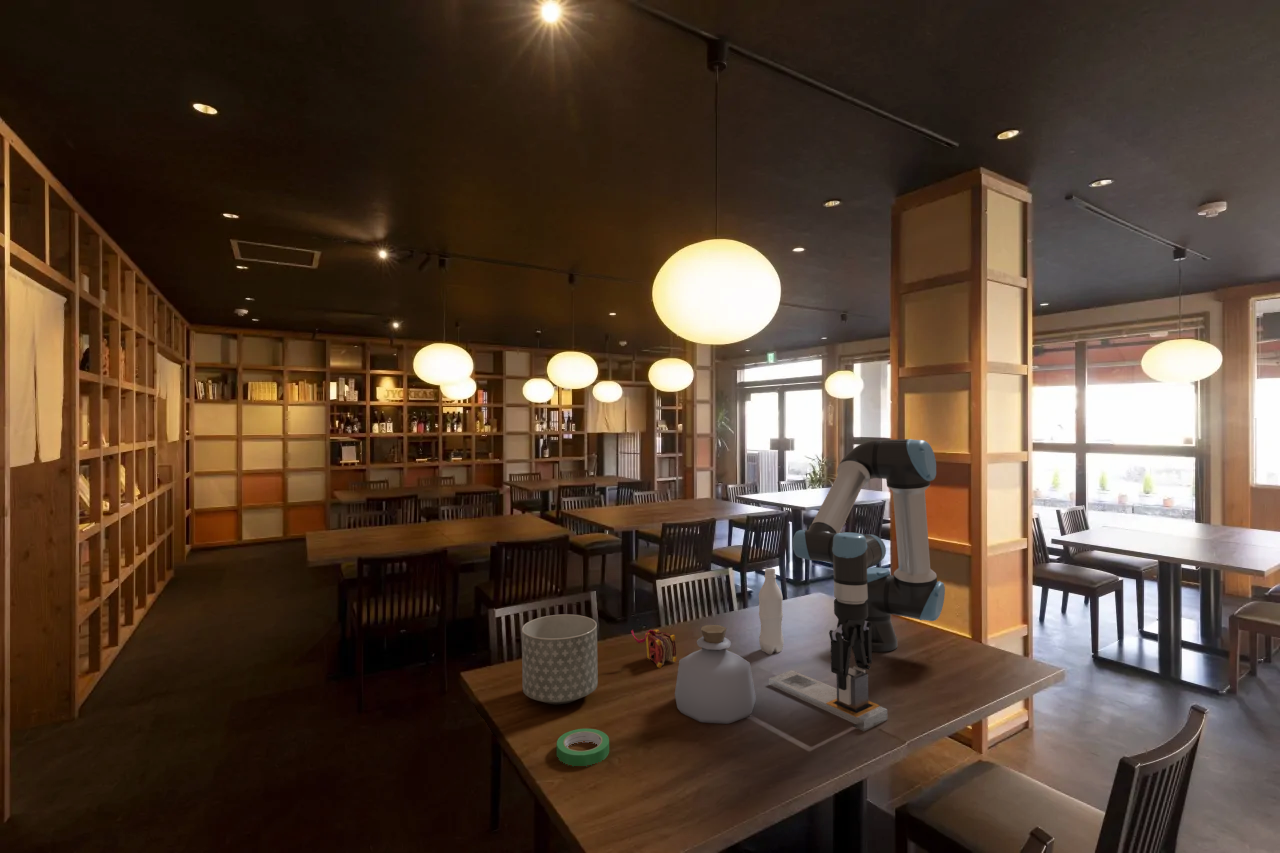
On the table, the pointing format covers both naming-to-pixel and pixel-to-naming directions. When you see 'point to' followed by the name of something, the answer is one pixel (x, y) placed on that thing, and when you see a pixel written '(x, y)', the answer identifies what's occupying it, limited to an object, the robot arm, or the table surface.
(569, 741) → the tape roll
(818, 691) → the rail
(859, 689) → the grey tall square block
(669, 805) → the table surface
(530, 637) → the planter
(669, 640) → the book monster
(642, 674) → the table surface
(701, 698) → the bottle
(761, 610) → the water bottle
